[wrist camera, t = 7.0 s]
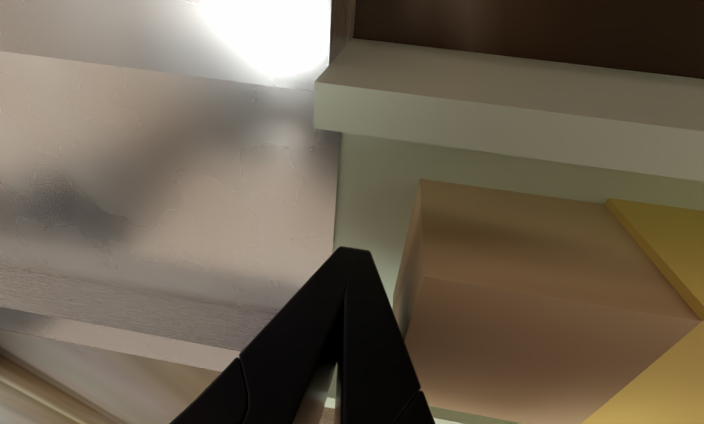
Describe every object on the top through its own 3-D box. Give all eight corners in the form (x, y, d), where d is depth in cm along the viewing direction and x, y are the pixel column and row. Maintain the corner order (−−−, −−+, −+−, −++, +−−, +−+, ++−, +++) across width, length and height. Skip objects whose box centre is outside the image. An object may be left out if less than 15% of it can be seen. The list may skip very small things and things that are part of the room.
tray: (709, 371, 11) (806, 500, 8) (333, 306, 12) (310, 403, 9) (1069, 122, 6) (1636, 250, 3) (353, 38, 7) (314, 81, 4)
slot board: (331, 324, 13) (316, 390, 11) (0, 265, 14) (-71, 315, 12) (358, -28, 6) (332, -28, 4) (-285, -95, 7) (-560, -121, 5)
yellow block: (680, 337, 9) (775, 466, 7) (532, 312, 9) (574, 429, 7) (811, 225, 7) (1032, 364, 4) (608, 198, 7) (710, 314, 5)
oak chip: (530, 316, 10) (570, 432, 7) (393, 293, 10) (387, 397, 7) (604, 204, 7) (702, 321, 5) (420, 178, 7) (423, 277, 5)
